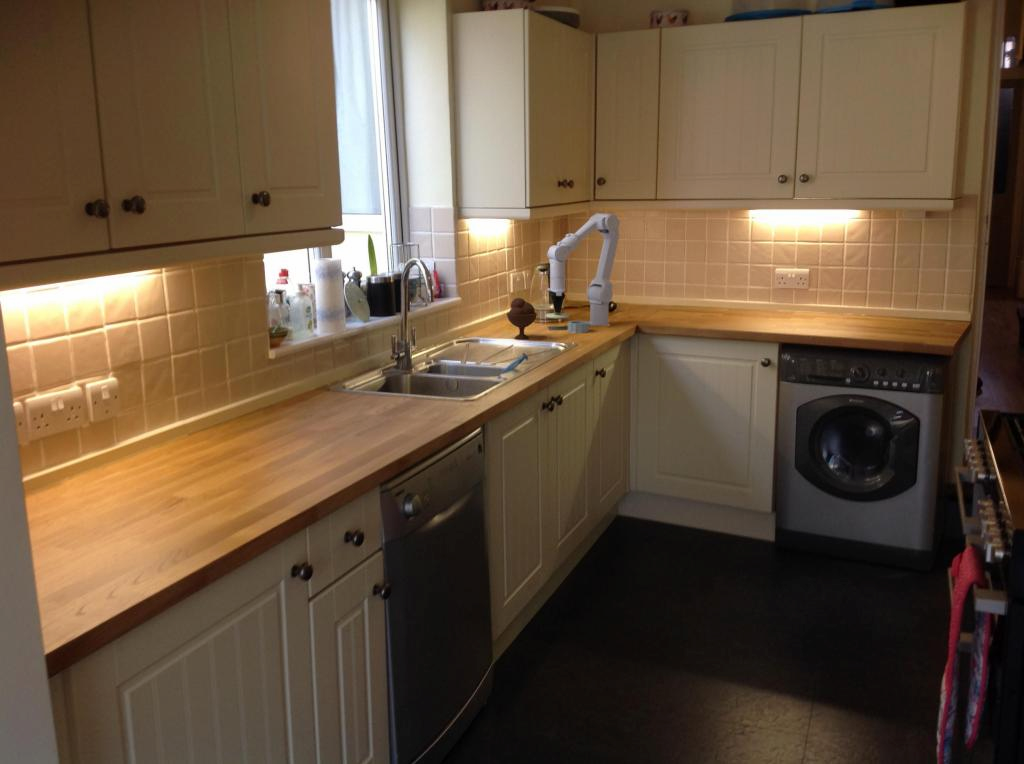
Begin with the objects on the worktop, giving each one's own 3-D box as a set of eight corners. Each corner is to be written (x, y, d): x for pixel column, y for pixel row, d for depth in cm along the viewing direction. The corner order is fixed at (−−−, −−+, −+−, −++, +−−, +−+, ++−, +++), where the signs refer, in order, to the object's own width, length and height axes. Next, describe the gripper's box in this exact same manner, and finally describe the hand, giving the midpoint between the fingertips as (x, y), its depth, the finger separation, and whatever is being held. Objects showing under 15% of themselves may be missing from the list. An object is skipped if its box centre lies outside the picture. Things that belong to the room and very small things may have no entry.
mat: (547, 328, 380) (547, 326, 380) (565, 327, 380) (565, 326, 380) (549, 331, 371) (549, 330, 371) (567, 331, 372) (567, 330, 371)
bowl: (567, 331, 372) (567, 320, 372) (587, 330, 373) (587, 320, 372) (568, 334, 365) (568, 324, 364) (589, 334, 365) (590, 323, 364)
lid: (545, 315, 379) (545, 302, 378) (567, 315, 379) (568, 302, 378) (546, 318, 370) (546, 306, 369) (570, 318, 371) (570, 306, 370)
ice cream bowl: (512, 341, 350) (512, 300, 347) (503, 336, 360) (503, 296, 357) (540, 340, 353) (540, 299, 349) (531, 335, 363) (531, 295, 360)
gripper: (546, 275, 378) (546, 309, 381) (548, 279, 364) (548, 315, 367) (564, 274, 379) (564, 309, 382) (567, 279, 364) (567, 314, 367)
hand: (557, 312), depth 374 cm, fingers closed on lid, 2 cm apart
